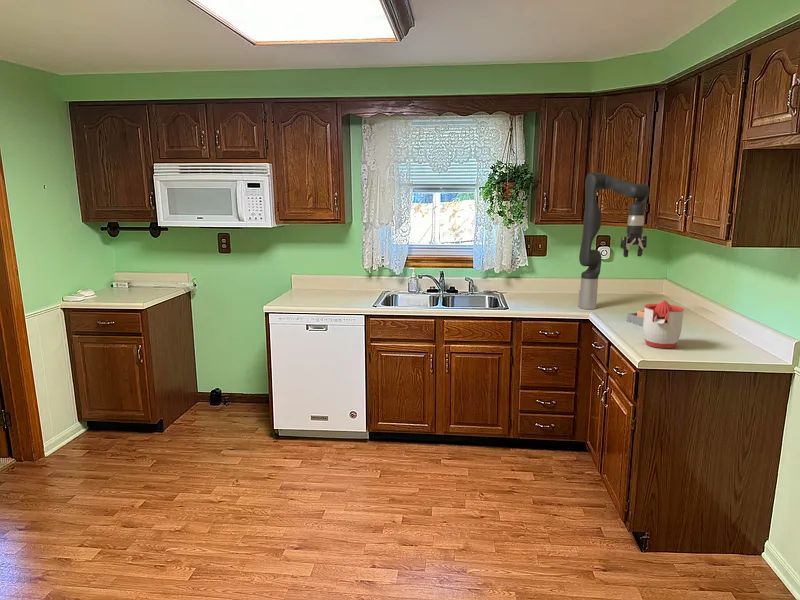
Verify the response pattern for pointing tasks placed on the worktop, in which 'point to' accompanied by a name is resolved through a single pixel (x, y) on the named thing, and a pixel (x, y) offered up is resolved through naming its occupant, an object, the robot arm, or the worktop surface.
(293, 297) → the worktop surface
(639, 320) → the large crate
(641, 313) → the small crate
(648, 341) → the citrus juicer
